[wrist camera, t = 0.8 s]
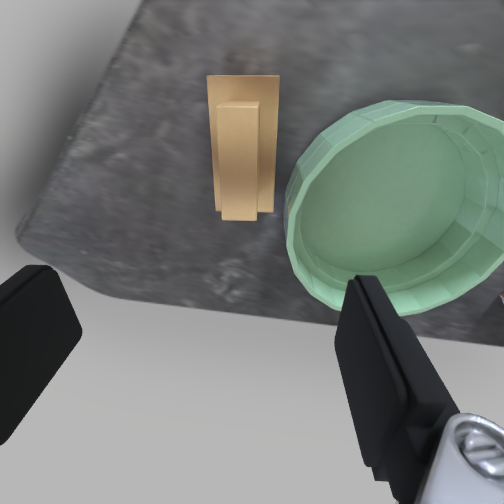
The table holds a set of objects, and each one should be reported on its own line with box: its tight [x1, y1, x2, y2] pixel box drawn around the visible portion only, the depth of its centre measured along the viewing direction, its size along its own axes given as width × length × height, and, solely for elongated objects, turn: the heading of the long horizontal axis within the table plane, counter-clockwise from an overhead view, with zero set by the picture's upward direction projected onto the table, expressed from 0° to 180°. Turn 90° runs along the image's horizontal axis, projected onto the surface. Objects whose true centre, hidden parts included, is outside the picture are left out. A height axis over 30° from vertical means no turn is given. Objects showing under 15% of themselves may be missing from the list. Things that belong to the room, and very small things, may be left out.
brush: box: [207, 75, 280, 221], centre depth 21 cm, size 10×5×8 cm, turn 0°
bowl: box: [283, 100, 504, 317], centre depth 23 cm, size 17×17×6 cm
